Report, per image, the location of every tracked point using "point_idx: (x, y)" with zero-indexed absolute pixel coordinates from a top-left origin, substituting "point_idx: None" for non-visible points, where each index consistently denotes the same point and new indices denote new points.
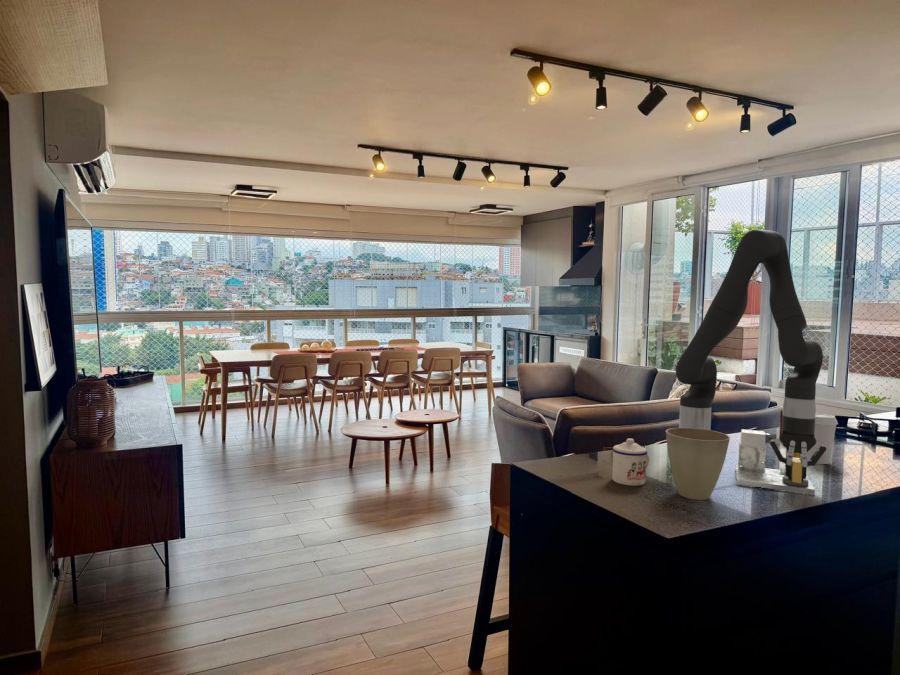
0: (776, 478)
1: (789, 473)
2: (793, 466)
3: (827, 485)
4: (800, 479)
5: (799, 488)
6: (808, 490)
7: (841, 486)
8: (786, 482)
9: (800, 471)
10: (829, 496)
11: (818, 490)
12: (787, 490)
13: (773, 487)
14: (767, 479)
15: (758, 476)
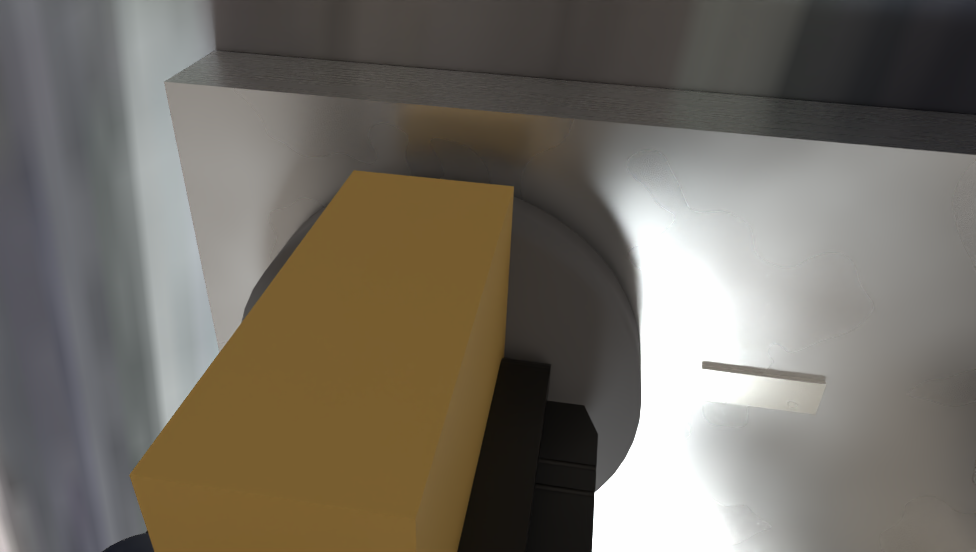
0: (682, 507)
1: (529, 433)
2: (435, 424)
3: (125, 536)
4: (346, 210)
5: (409, 99)
6: (271, 76)
7: (13, 538)
8: (602, 270)
9: (282, 315)
10: (30, 97)
11: (186, 336)
12: (611, 95)
13: (859, 120)
14: (864, 424)
15: (956, 536)
